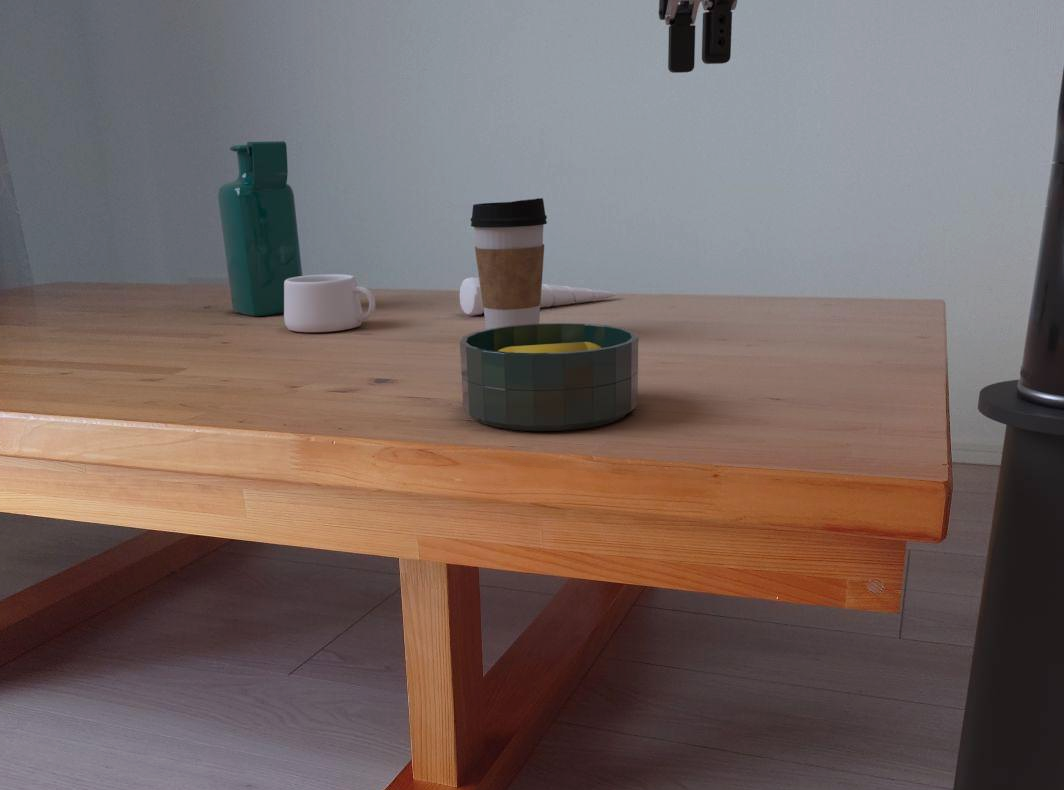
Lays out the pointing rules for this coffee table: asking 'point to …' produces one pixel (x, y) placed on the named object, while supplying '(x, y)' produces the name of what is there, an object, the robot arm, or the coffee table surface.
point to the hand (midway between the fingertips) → (697, 68)
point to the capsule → (552, 348)
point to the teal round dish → (549, 377)
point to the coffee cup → (510, 260)
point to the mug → (324, 303)
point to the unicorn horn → (549, 296)
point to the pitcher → (260, 229)
